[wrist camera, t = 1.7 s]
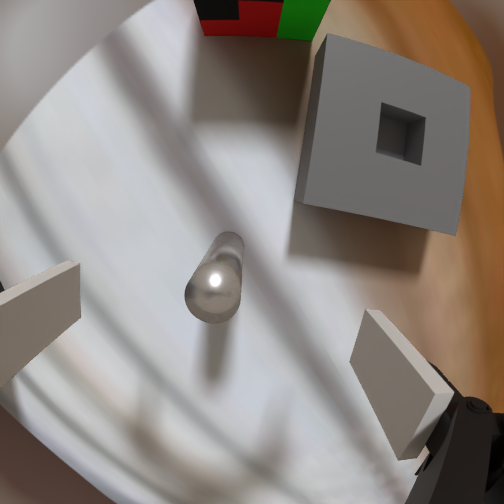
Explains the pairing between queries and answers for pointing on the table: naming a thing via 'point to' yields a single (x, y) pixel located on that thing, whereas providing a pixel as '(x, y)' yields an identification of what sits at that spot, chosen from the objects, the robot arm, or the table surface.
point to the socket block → (384, 137)
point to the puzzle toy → (261, 17)
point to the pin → (217, 280)
